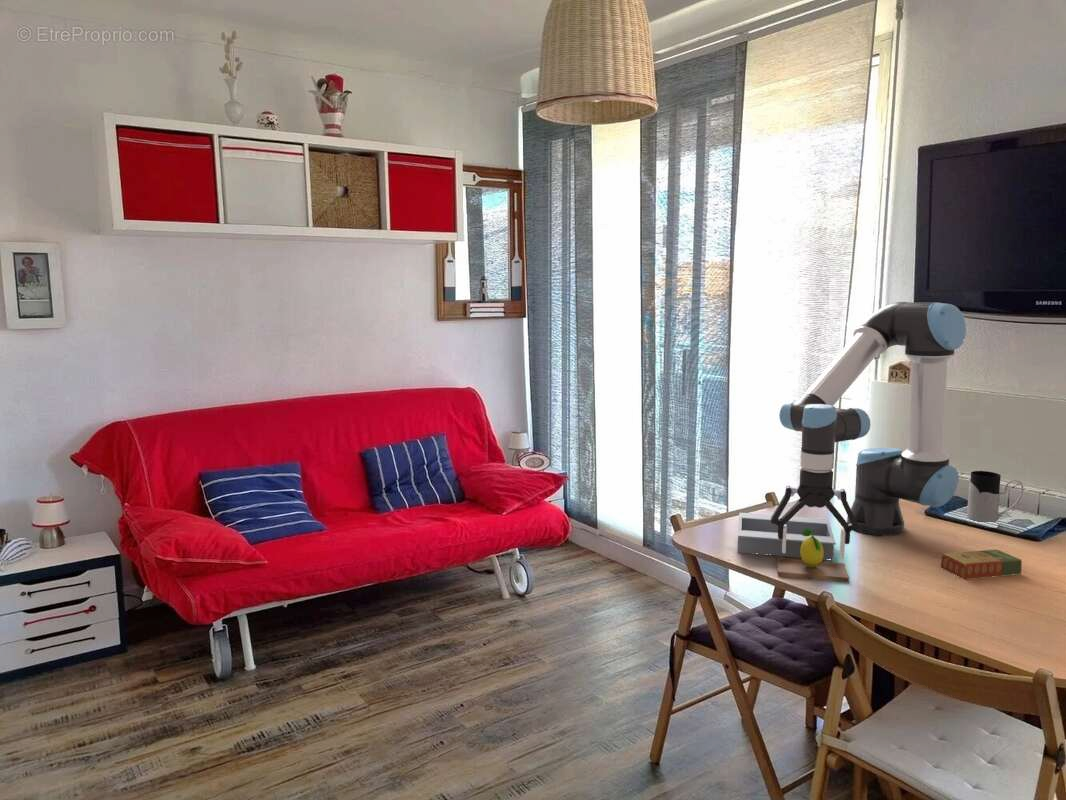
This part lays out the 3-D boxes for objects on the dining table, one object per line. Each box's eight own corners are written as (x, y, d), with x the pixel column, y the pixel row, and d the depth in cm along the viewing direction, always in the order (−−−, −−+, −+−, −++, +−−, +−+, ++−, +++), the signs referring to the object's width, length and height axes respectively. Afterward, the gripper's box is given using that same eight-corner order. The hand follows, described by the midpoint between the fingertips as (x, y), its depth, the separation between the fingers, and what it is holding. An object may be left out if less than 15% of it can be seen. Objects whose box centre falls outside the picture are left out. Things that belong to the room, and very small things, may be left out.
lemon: (801, 561, 200) (802, 522, 198) (826, 564, 197) (826, 525, 195) (795, 569, 194) (796, 530, 193) (820, 573, 191) (821, 533, 190)
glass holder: (961, 518, 237) (965, 469, 235) (1014, 522, 233) (1019, 472, 231) (968, 527, 229) (972, 476, 226) (1024, 531, 225) (1029, 479, 223)
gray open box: (827, 539, 219) (828, 518, 218) (834, 566, 199) (835, 543, 198) (738, 533, 225) (739, 512, 224) (737, 557, 206) (737, 535, 205)
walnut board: (844, 567, 198) (844, 563, 198) (848, 582, 189) (848, 577, 188) (776, 562, 202) (777, 557, 202) (778, 576, 193) (778, 571, 193)
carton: (939, 568, 198) (940, 552, 197) (995, 564, 201) (996, 547, 201) (964, 581, 190) (965, 563, 189) (1021, 575, 193) (1023, 558, 193)
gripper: (870, 468, 192) (864, 552, 195) (762, 462, 198) (759, 544, 202) (874, 475, 185) (869, 563, 188) (763, 469, 191) (759, 554, 194)
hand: (812, 553), depth 195 cm, fingers open, 13 cm apart
